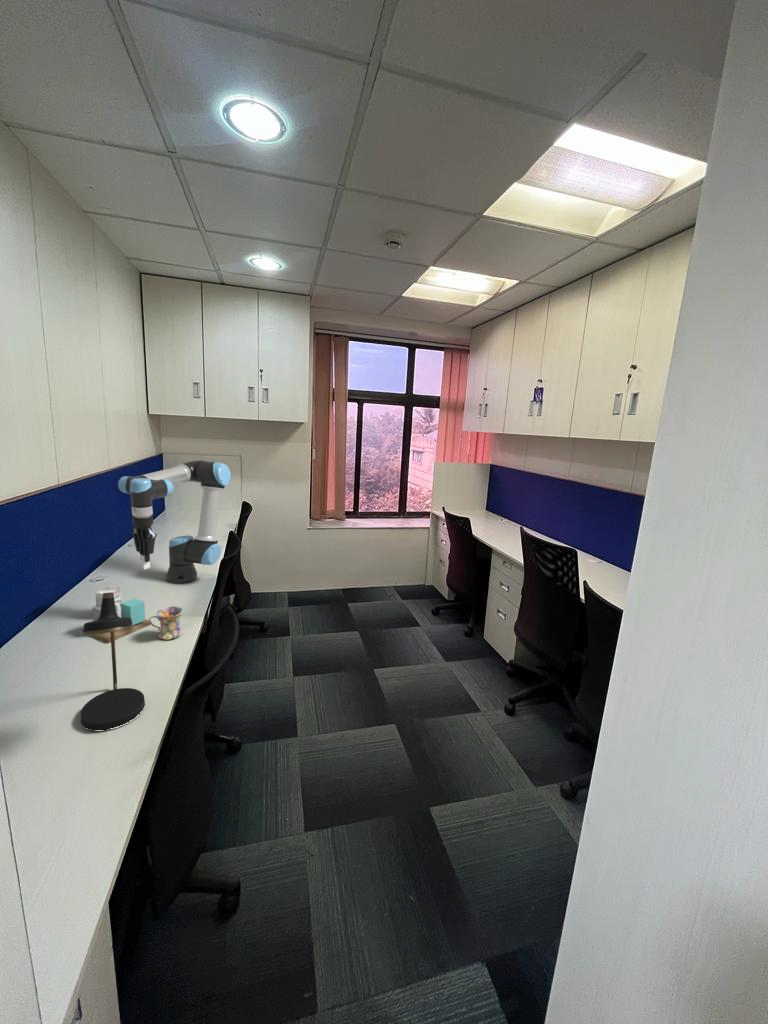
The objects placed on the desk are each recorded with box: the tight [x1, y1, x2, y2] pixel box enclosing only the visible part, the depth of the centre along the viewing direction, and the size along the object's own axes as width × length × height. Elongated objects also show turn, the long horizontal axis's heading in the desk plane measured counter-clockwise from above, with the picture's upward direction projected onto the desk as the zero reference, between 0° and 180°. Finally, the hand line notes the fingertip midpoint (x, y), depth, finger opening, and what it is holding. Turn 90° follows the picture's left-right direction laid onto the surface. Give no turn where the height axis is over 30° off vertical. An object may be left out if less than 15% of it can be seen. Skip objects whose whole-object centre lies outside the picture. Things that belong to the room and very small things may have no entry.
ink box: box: [94, 585, 122, 615], centre depth 176 cm, size 9×5×12 cm, turn 168°
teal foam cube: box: [120, 598, 146, 625], centre depth 169 cm, size 6×6×8 cm
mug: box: [148, 606, 184, 640], centre depth 164 cm, size 12×9×11 cm
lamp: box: [79, 592, 146, 730], centre depth 120 cm, size 16×22×38 cm
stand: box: [90, 604, 152, 644], centre depth 166 cm, size 18×12×11 cm, turn 156°
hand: (145, 568), depth 177 cm, fingers closed
